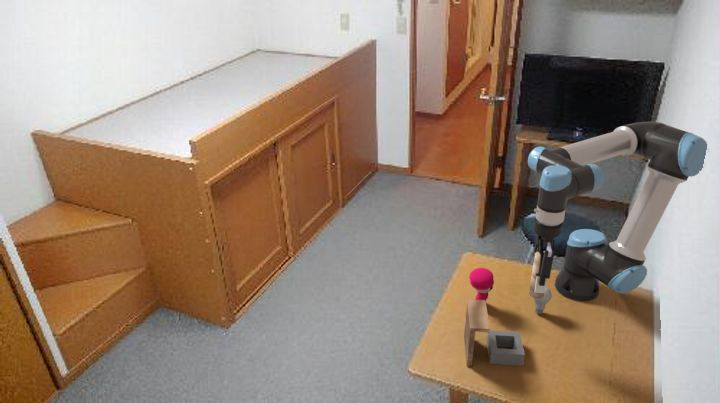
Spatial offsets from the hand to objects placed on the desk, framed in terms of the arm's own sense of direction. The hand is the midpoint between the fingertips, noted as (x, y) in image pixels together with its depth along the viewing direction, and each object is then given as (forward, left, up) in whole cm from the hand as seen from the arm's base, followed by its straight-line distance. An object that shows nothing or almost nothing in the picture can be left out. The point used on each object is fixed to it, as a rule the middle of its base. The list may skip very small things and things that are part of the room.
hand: (537, 286), depth 163 cm
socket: (+8, +5, -22) cm, 24 cm away
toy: (+14, -17, -23) cm, 32 cm away
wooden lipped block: (+18, +5, -22) cm, 29 cm away
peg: (0, 0, -3) cm, 3 cm away
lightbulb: (-6, -15, -23) cm, 28 cm away
